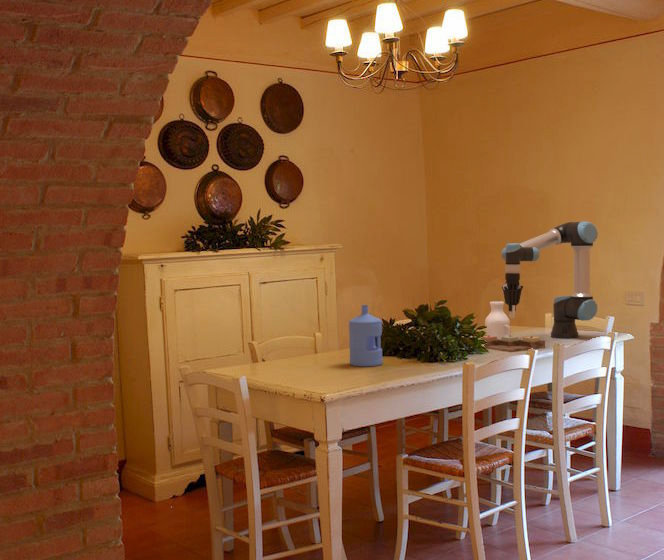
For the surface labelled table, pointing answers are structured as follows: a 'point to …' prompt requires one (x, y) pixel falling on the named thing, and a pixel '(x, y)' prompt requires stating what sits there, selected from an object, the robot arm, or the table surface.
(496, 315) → the vase
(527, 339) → the tile three
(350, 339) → the water jug
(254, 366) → the table surface
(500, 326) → the mug
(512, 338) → the tile one
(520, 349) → the board
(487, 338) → the tile two
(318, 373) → the table surface
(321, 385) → the table surface
